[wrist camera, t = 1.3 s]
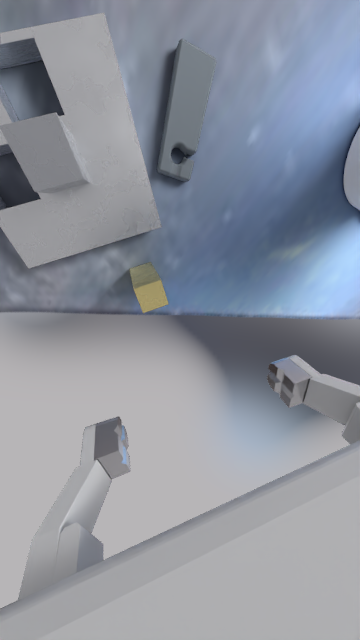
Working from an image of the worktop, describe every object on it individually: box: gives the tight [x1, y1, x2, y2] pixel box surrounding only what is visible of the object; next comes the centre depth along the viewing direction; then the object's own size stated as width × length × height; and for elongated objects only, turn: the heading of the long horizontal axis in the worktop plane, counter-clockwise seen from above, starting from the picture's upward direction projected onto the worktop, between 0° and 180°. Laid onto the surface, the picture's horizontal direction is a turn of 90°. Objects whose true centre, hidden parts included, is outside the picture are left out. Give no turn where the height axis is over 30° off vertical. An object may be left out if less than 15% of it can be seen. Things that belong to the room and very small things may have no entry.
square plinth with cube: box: [0, 13, 162, 269], centre depth 19 cm, size 16×16×8 cm
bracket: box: [157, 39, 216, 182], centre depth 22 cm, size 4×10×2 cm, turn 166°
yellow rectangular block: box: [129, 262, 168, 313], centre depth 27 cm, size 3×3×8 cm
